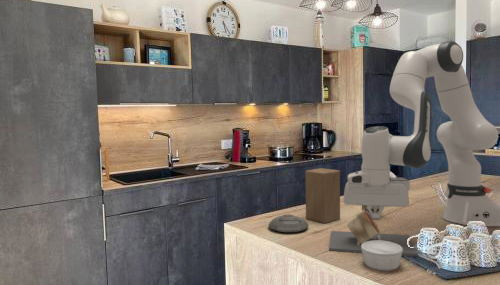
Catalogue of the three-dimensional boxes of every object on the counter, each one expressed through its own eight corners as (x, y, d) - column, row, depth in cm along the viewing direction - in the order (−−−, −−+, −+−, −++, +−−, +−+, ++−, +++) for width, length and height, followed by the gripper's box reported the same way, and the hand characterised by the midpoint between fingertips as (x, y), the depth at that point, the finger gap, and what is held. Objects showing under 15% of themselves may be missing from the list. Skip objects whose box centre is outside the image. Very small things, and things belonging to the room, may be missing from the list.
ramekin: (362, 271, 104) (362, 252, 104) (359, 256, 115) (359, 239, 115) (406, 274, 102) (406, 254, 102) (398, 258, 113) (399, 240, 113)
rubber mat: (408, 237, 131) (408, 233, 131) (418, 256, 114) (418, 252, 114) (331, 233, 137) (331, 229, 137) (329, 250, 120) (329, 246, 120)
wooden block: (321, 214, 163) (321, 167, 161) (340, 219, 155) (340, 170, 154) (305, 218, 157) (304, 170, 155) (324, 223, 149) (324, 173, 147)
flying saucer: (316, 230, 142) (316, 215, 142) (284, 238, 134) (284, 222, 134) (291, 221, 155) (291, 207, 154) (260, 227, 147) (260, 213, 146)
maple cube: (364, 209, 129) (347, 220, 130) (365, 214, 122) (347, 226, 123) (377, 225, 128) (360, 237, 130) (379, 232, 121) (361, 244, 123)
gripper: (408, 175, 124) (407, 217, 125) (343, 174, 129) (343, 214, 130) (411, 179, 118) (411, 223, 119) (343, 177, 123) (343, 219, 124)
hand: (375, 218), depth 124 cm, fingers closed
